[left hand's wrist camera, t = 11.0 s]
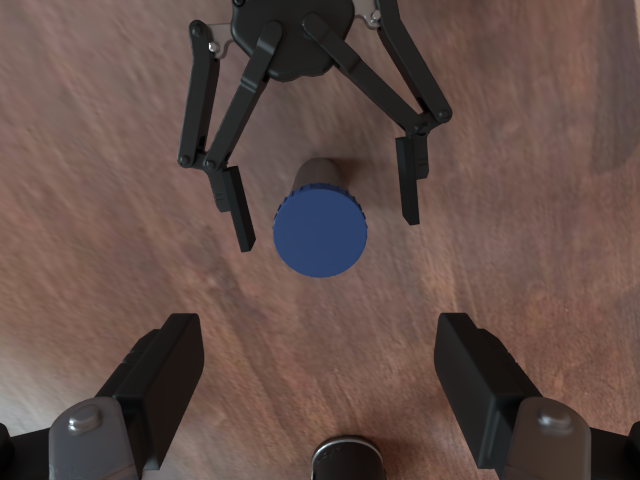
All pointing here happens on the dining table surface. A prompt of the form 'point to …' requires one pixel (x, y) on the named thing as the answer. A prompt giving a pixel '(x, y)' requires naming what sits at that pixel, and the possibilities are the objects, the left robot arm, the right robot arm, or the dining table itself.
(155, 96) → the dining table surface
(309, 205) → the lid
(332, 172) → the brown cylinder
